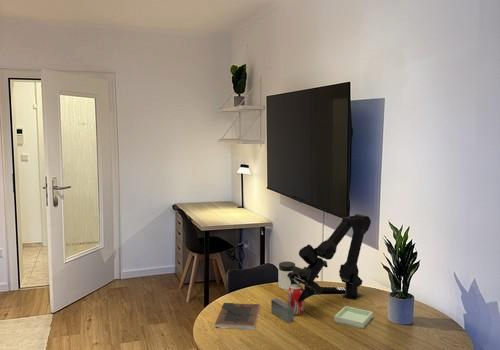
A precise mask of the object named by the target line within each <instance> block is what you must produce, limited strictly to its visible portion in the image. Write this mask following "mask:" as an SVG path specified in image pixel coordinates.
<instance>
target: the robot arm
mask: <svg viewBox="0 0 500 350" xmlns="http://www.w3.org/2000/svg"><path fill="white" fill-rule="evenodd" d="M371 222H372V220H371V218H370V217H369V216H368V215H364V214H360V213H356V214H355V215H349V216H345V217H343V218H342V219H341V222H340V223H339V224H338V225H337V227H336V228H335V230H334V231H333V232H332V234H331V235H330V236H329V237H328V238H327V239H326V240H324V241H322V242H321V243H320V244H318V246H317V247H315V248H314V247H313V246H312V245H311V244H307V245H306V246H303V247H302V248H300V249H299V251H298V256H299V257H300V258H301V259H302V261H304V263H306V264H307V266H304V267H303V268H301V267H299V266H296V265H295V266H294V269H293V272H289V274H288V275H287V276H288V277H289V279H290V281H291V285H292V284H300V285H303V286H304V287H303V289H304V291H303V293H302V294H301V296H300V297H299V299H298V301H299V302H301V301H303V300H304V301H305V300H306V299H309V298H310V297H311V296H314V295H320V296H321V295H322V293H323V287H322V286H321V285H320V284H318V283H317V282H316V279H319V278H320V276H319V274H320V272H321V270H322V269H323V267H324V268H328V262H327V260H332V259H333V257H334V256H335V254H336V252H337V247H338V245H339V244H340V242H341V241H342V240H343V239H344V237H345V236H346V235H347V234H348V232H349V231H350V229H351V230H352V237H351V241H350V245H349V249H348V254H347V256H346V257H347V258H346V262H344V263H343V264H342V263H341V264H340V266H339V267H340V268H339V270H338V276H339V277H340V279H341V280H340V281H341V282H342V283H345V286H344V287H345V290H344V291H345V293H343V295H342V297H343V298H347V299H352V300H357V299H358V298H359V297H360V296H361V293H358V292H359V289H358V288H359V287H360V286H362V284H363V280H362V278H361V277H359V272H360V271H359V268H358V260H359V257H360V253H361V248H362V244H363V240H364V236H365V234H366V233H367V232H368V231H369V229H370V226H371V224H372V223H371ZM323 259H325V260H323Z"/></svg>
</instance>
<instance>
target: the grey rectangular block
mask: <svg viewBox="0 0 500 350" xmlns="http://www.w3.org/2000/svg"><path fill="white" fill-rule="evenodd" d="M270 300H271V303H270V304H271V305H270V306H271V309H270V310H271V314H273V315H274V316H276V317H278V318H279V319H281V320H283V321H284V322H286V323H291V322H294V318H295V317H294V307H292V306H290V305H288V302H287V303H286V302H285V301H283V300H281V299H279V298H277V297H276V298H272V299H270Z"/></svg>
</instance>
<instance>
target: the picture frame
mask: <svg viewBox="0 0 500 350" xmlns="http://www.w3.org/2000/svg"><path fill="white" fill-rule="evenodd" d="M260 306H261V305H260V304H259V303H237V302H236V303H234V302H223V303H222V307H221V309H220V311H219V313H218V316H217V318H216V320H215V323H214V328H215V327H228V328H240V329H239V330H252V331H253V330H254V331H255V329H256V326H257V321H258V317H259V312H260V308H261V307H260Z"/></svg>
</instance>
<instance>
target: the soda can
mask: <svg viewBox="0 0 500 350" xmlns="http://www.w3.org/2000/svg"><path fill="white" fill-rule="evenodd" d="M303 286H304V285H303V284H301V283H300V284H292V285H290V286H289V289H288V290H287V304H288V305H290V306H292V307H294V315H295V316H300V315H302V314H304V311H305V300H303V301H301V302H299V301H298V299H299V297H300V296H301V294H302V293H303V291H304V287H303Z"/></svg>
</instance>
